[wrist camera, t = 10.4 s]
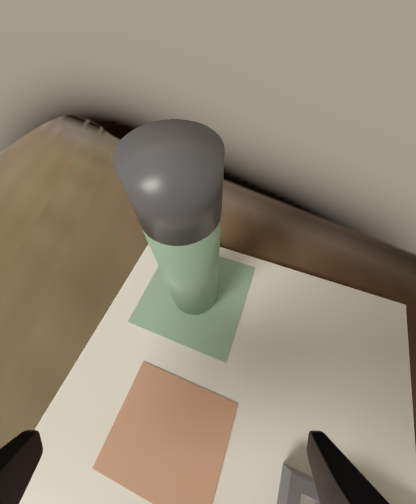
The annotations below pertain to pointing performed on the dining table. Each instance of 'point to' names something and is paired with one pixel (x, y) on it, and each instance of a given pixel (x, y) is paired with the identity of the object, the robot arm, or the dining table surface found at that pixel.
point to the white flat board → (231, 394)
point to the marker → (177, 203)
